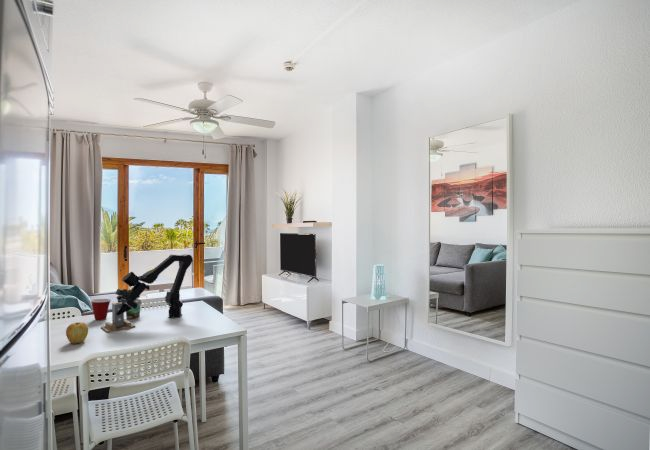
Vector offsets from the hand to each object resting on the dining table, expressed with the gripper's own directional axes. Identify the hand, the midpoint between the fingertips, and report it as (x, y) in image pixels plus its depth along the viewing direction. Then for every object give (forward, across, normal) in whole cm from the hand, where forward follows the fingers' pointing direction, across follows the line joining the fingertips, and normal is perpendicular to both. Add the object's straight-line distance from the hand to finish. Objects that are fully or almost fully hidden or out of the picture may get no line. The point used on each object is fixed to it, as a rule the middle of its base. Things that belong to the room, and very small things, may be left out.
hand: (115, 314), depth 206 cm
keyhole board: (+5, 0, +6) cm, 8 cm away
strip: (+4, 0, +6) cm, 7 cm away
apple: (+20, +12, -9) cm, 25 cm away
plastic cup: (+6, -27, +6) cm, 28 cm away
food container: (-6, -16, +17) cm, 24 cm away
